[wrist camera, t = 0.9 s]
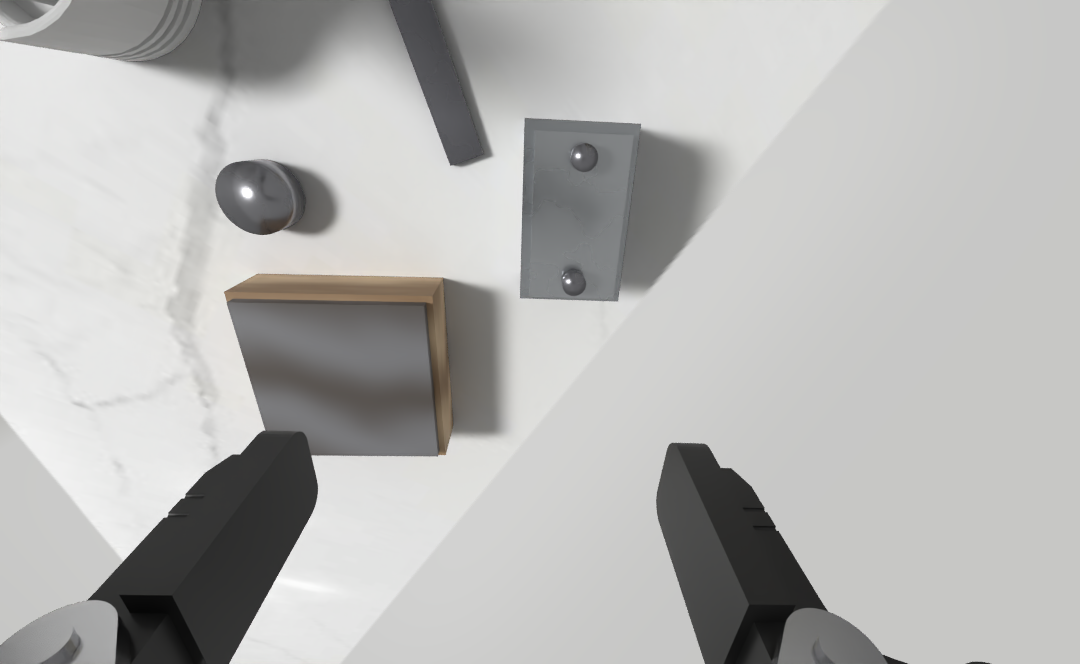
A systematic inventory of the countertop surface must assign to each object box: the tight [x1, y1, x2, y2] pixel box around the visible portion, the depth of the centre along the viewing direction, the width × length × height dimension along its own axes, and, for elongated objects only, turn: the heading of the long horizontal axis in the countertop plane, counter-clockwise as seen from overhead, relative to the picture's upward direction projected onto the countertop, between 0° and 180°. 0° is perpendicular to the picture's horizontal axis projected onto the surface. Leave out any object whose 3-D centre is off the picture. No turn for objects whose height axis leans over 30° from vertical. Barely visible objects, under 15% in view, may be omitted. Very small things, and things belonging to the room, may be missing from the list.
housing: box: [520, 118, 641, 301], centre depth 24 cm, size 9×6×7 cm, turn 178°
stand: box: [224, 274, 453, 456], centre depth 29 cm, size 12×12×4 cm
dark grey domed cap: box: [215, 159, 305, 235], centre depth 25 cm, size 4×4×2 cm
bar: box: [389, 0, 484, 166], centre depth 23 cm, size 12×2×1 cm, turn 17°
